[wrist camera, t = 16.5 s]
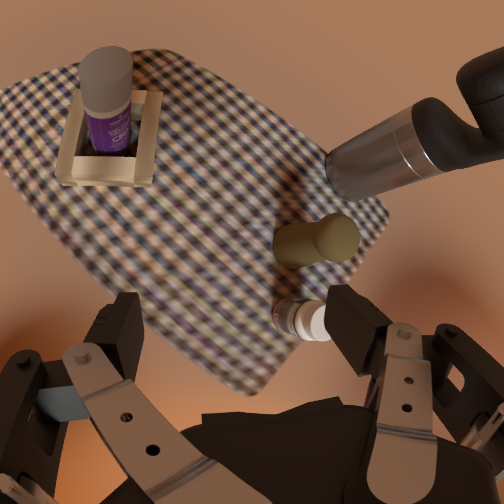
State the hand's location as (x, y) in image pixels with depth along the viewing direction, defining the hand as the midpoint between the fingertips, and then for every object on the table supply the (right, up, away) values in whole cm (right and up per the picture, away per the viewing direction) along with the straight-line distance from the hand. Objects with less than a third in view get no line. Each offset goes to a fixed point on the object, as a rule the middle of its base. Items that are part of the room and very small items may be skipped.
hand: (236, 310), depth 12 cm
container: (-16, +15, +18) cm, 29 cm away
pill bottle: (+5, -6, +25) cm, 27 cm away
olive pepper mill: (+6, +3, +27) cm, 27 cm away
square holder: (-16, +15, +18) cm, 29 cm away
